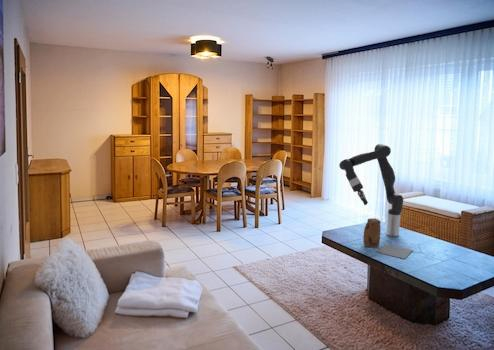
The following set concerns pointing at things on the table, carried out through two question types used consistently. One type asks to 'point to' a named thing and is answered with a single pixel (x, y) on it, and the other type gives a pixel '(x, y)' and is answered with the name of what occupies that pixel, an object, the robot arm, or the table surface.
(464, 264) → the table surface
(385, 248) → the mat
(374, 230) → the rough sandstone rock
